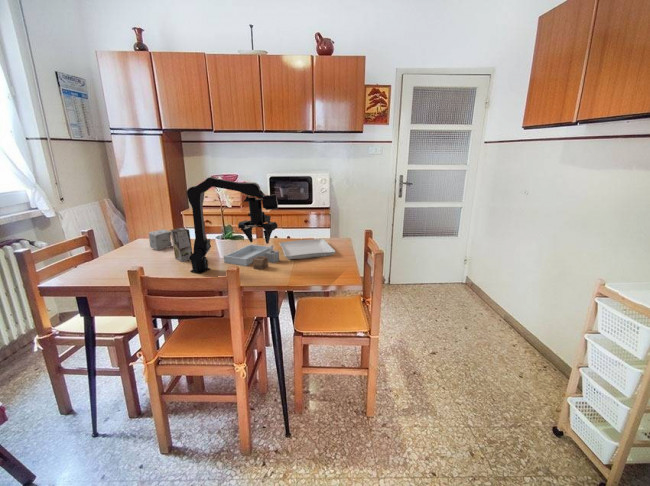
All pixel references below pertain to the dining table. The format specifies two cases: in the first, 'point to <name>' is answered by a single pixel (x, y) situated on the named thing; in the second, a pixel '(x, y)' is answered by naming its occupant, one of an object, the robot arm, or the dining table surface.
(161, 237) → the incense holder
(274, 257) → the gauged block
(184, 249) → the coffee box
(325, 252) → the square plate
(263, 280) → the dining table surface
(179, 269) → the dining table surface
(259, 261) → the walnut block
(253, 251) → the tray
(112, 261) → the dining table surface
